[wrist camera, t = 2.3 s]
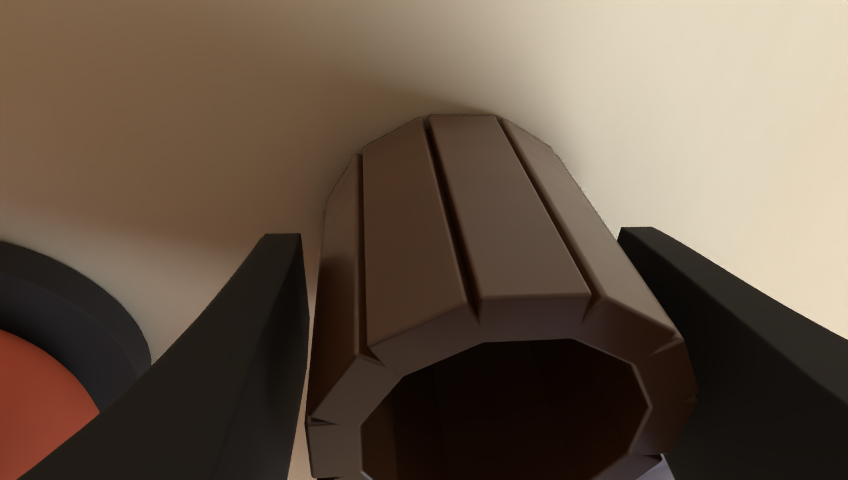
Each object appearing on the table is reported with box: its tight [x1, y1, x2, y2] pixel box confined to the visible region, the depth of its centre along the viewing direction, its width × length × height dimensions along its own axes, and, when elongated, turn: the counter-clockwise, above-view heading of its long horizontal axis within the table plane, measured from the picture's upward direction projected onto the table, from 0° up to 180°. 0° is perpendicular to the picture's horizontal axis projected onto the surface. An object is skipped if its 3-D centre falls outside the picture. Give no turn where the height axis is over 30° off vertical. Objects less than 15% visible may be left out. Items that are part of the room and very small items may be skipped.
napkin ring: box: [304, 115, 699, 480], centre depth 9 cm, size 5×5×5 cm
